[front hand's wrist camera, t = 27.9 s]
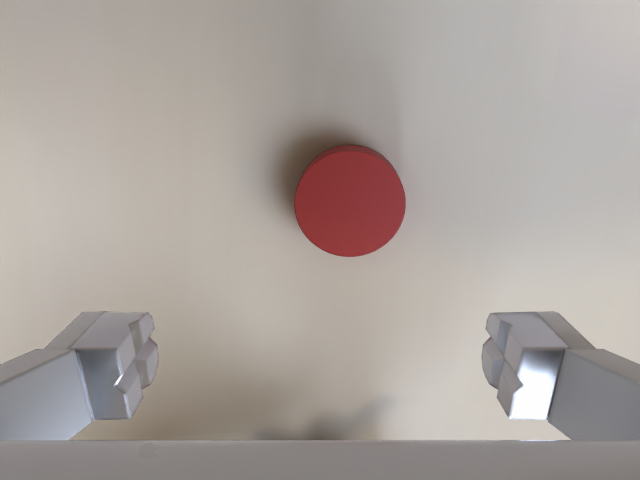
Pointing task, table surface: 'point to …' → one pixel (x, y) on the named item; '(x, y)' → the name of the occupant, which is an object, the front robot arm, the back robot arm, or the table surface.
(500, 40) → the table surface
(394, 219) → the lid
